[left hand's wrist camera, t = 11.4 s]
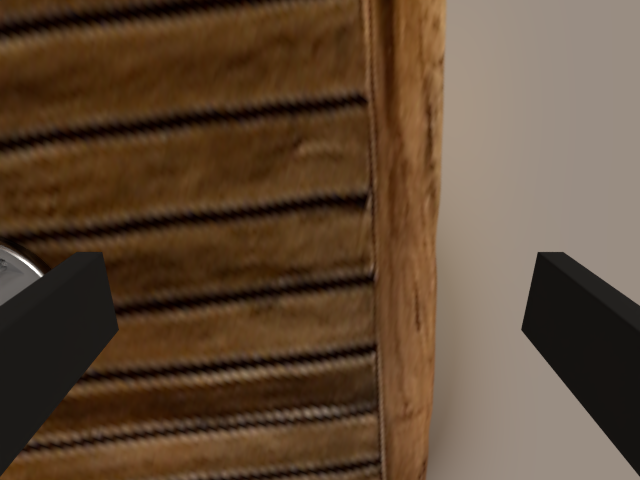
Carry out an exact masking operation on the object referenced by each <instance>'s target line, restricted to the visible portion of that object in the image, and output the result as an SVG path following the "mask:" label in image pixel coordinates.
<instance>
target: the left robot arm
mask: <svg viewBox="0 0 640 480" xmlns="http://www.w3.org/2000/svg"><path fill="white" fill-rule="evenodd" d="M118 330H119V329H118V324H117V319H116V315H115V310H114V305H113V301H112V296H111V291H110V287H109V282H108V277H107V273H106V268H105V263H104V258H103V254H102V252H76V253H75V254H73V255H72V256H70V257H69V258H68V259H66V260H65V261H63V262H62V263H61V264H59V265H58V266H56V267H55V268H53V269H52V270H51V268H50V267H49V266H48V265H47V264H46V263H45V262H43V261H42V260H41V259H40V258H39V257H37V256H36V255H35V254H33V253H32V252H31V251H29V250H27V249H26V248H24V247H22V246H20V245H18V244H16V243H14V242H12V241H10V240H7V239H4V238H1V237H0V476H1V475H2V474H3V472H4V471H5V470H6V469H7V468H8V466H9V465H10V464H11V463H12V461H13V460H14V459H15V458H16V456H17V455H18V454H19V453H20V451H21V450H22V449H23V448H24V446H25V445H26V444H27V443H28V442H29V440H30V439H31V438H32V437H33V435H34V434H35V433H36V432H37V430H38V429H39V428H40V427H41V425H42V424H43V423H44V422H45V421H46V419H47V418H48V417H49V416H50V414H51V413H52V412H53V411H54V409H55V408H56V407H57V406H58V404H59V403H60V402H61V401H62V399H63V398H64V397H65V396H66V395H67V393H68V392H69V391H70V390H71V388H72V387H73V386H74V385H75V383H76V382H77V381H78V380H79V378H80V377H81V376H82V375H83V374H84V372H85V371H86V370H87V369H88V367H89V366H90V365H91V364H92V362H93V361H94V360H95V359H96V357H97V356H98V355H99V354H100V352H101V351H102V350H103V349H104V348H105V346H106V345H107V344H108V343H109V341H110V340H111V339H112V338H113V336H114V335H115V334H116V333H117V331H118ZM521 330H522V331H523V333H524V334H525V335H526V336H527V338H528V339H529V340H530V341H531V343H532V344H533V345H534V346H535V348H536V349H537V350H538V351H539V352H540V354H541V355H542V356H543V357H544V359H545V360H546V361H547V362H548V364H549V365H550V366H551V367H552V369H553V370H554V371H555V372H556V374H557V375H558V376H559V377H560V378H561V380H562V381H563V382H564V383H565V385H566V386H567V387H568V388H569V390H570V391H571V392H572V393H573V395H574V396H575V397H576V398H577V399H578V401H579V402H580V403H581V404H582V406H583V407H584V408H585V409H586V411H587V412H588V413H589V414H590V416H591V417H592V418H593V419H594V421H595V422H596V423H597V424H598V425H599V427H600V428H601V429H602V430H603V432H604V433H605V434H606V435H607V437H608V438H609V439H610V440H611V442H612V443H613V444H614V445H615V446H616V448H617V449H618V450H619V451H620V453H621V454H622V455H623V456H624V458H625V459H626V460H627V461H628V463H629V464H630V465H631V466H632V468H633V469H634V470H635V471H636V472H637V474H638V475H639V476H640V306H639V305H638V304H636V303H635V302H633V301H632V300H631V299H629V298H628V297H626V296H625V295H624V294H622V293H621V292H619V291H618V290H616V289H615V288H614V287H612V286H611V285H609V284H608V283H606V282H605V281H604V280H602V279H601V278H599V277H598V276H597V275H595V274H594V273H592V272H591V271H589V270H588V269H587V268H585V267H584V266H582V265H581V264H579V263H578V262H577V261H575V260H574V259H572V258H571V257H570V256H568V255H567V254H565V253H564V252H538V254H537V258H536V263H535V268H534V273H533V277H532V282H531V287H530V291H529V296H528V301H527V305H526V310H525V315H524V319H523V324H522V329H521Z"/></svg>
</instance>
